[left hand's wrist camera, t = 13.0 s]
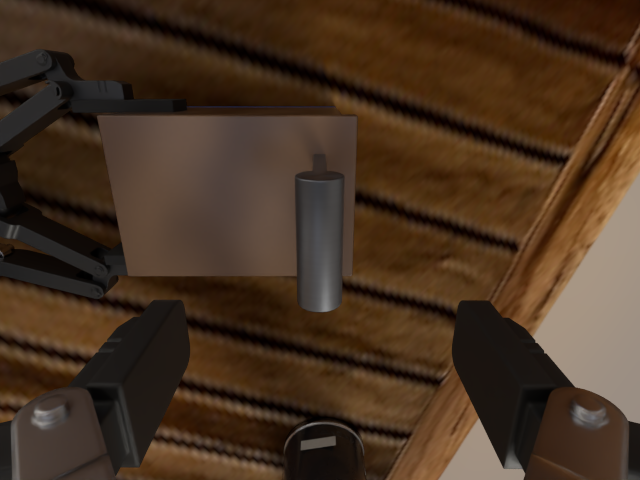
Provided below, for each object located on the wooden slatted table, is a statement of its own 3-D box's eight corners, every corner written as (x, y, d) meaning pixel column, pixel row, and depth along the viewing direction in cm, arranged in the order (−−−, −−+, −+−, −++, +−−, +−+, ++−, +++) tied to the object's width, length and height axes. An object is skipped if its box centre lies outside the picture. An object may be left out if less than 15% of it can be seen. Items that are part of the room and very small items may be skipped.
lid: (356, 114, 23) (376, 128, 15) (351, 270, 27) (365, 349, 19) (104, 114, 23) (-12, 128, 15) (134, 270, 27) (53, 349, 19)
